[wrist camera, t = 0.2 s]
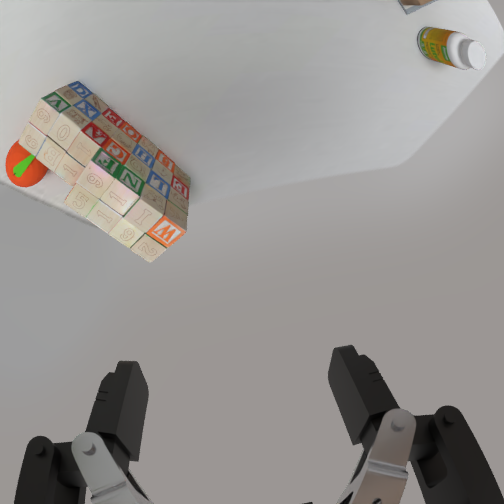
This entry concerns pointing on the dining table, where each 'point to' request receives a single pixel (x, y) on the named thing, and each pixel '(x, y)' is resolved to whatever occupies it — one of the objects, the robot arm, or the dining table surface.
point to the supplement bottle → (451, 48)
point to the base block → (415, 2)
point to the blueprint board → (413, 7)
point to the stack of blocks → (110, 170)
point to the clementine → (24, 167)
